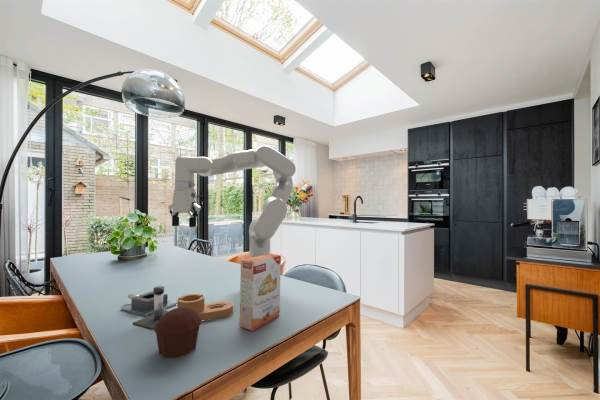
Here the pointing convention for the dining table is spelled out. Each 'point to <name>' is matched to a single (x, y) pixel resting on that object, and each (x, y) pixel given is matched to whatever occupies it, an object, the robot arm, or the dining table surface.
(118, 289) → the dining table surface
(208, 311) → the bracket
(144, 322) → the rubber mat
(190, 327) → the muffin
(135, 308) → the chuck block
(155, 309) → the small bottle
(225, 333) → the dining table surface
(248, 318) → the cracker box
